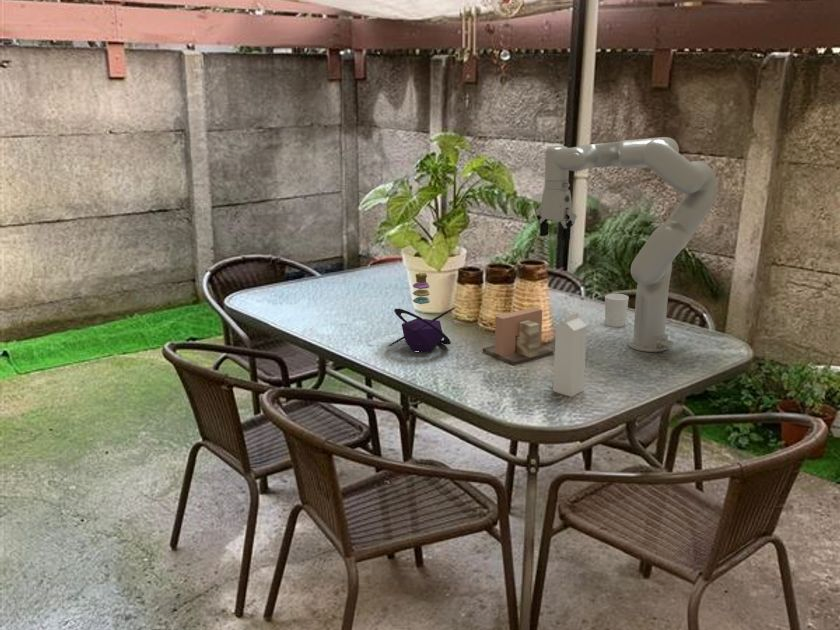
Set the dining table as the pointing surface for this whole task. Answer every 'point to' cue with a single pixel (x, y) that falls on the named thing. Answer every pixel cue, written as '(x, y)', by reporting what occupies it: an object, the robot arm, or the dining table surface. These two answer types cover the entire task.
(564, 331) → the milk
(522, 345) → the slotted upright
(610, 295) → the white cup
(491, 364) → the dining table surface
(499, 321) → the brown arch block
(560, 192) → the robot arm
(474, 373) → the dining table surface
